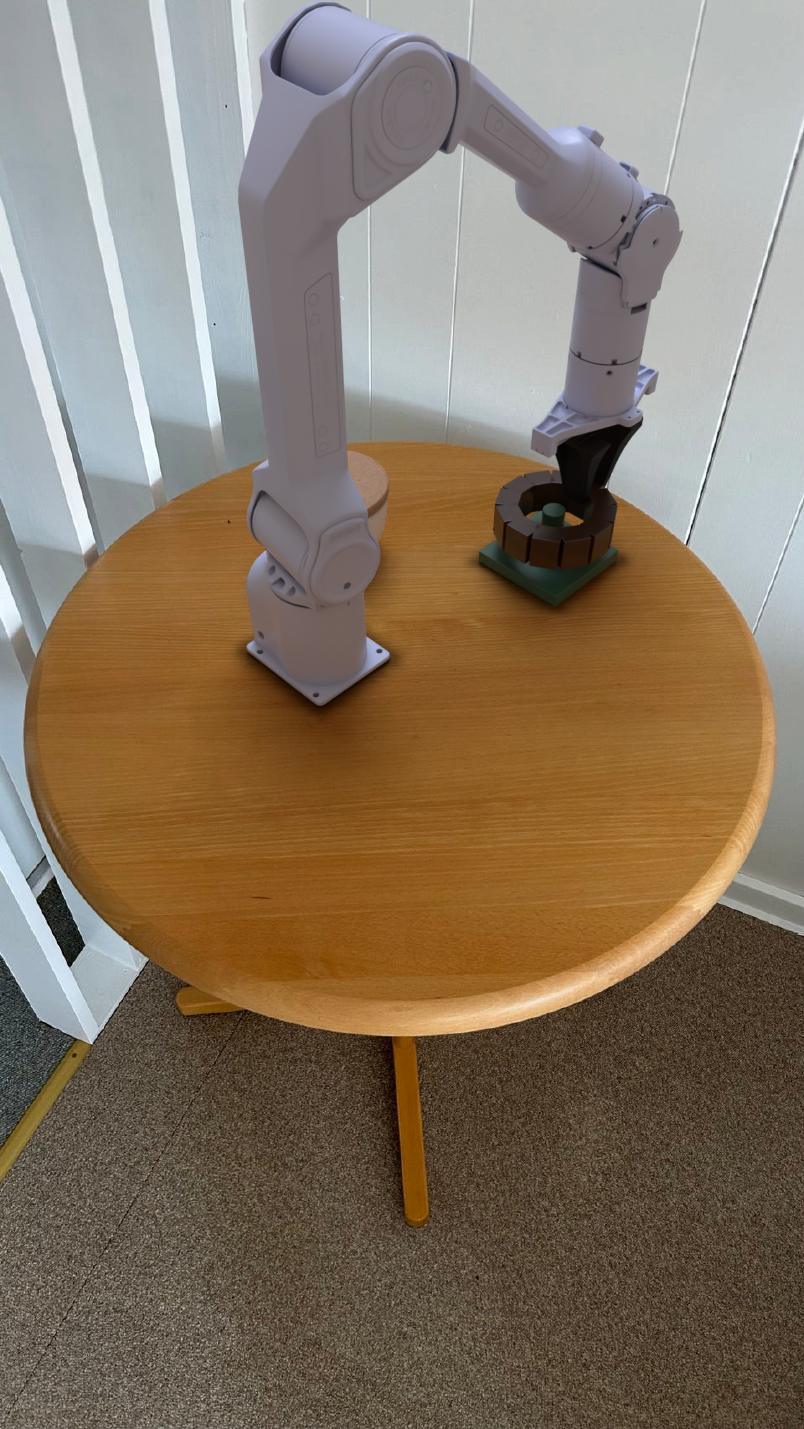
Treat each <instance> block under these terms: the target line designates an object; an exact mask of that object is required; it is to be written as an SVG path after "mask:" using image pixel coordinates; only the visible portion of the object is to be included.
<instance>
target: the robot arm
mask: <svg viewBox="0 0 804 1429" xmlns="http://www.w3.org/2000/svg"><path fill="white" fill-rule="evenodd" d="M258 61H259V74H260V84H261V85H260V86H261V93H262V94H261V100H260V103H259V107H258V111H257V114H256V118H255V122H254V125H253V129H252V133H251V137H250V140H249V144H248V148H247V152H246V156H245V159H244V163H243V166H242V170H241V174H240V177H239V183H238V187H237V191H238V192H237V193H238V194H237V196H238V197H237V202H238V212H239V220H240V221H239V222H240V229H241V239H242V247H243V256H244V266H245V272H246V280H247V282H246V283H247V291H248V299H249V307H250V316H251V324H252V332H253V333H252V334H253V342H254V349H255V351H254V352H255V358H256V368H257V375H258V376H257V377H258V385H259V394H260V401H261V411H262V419H263V428H264V436H265V445H266V454H267V459H265V460H264V461H263V462H261V463H260V464H259V465H257V466H256V467H255V468H254V469H253V470H252V471H251V474H252V475H251V476H252V482H253V483H252V485H253V486H252V487H253V488H252V495H251V498H250V500H249V503H248V507H247V511H246V527H247V529H248V532H249V534H250V535H251V537H252V538H253V540H255V541H256V542H257V543H258V544H260V546H262V547H264V548H265V550H264V551H263V552H262V553H261V554H259V556H258V557H256V559H255V561H254V562H253V563H252V565H251V566H250V569H249V572H248V575H247V578H246V582H245V592H246V598H247V604H248V609H249V615H250V622H251V628H252V633H253V640H252V641H250V642H249V643H248V644H247V645H246V650H247V653H249V654H250V655H252V656H253V657H254V658H256V660H258V661H260V663H262V664H263V665H265V666H266V667H267V668H269V669H270V670H271V671H272V672H273V673H275V674H276V675H277V676H279V677H280V678H281V679H283V680H284V682H286V683H288V684H289V685H290V686H292V687H293V688H294V689H295V690H297V692H299V693H301V695H303V696H304V697H305V698H306V699H308V700H309V701H311V702H312V703H313V704H315V705H316V706H319V707H321V706H324V705H326V704H327V703H329V702H331V701H332V700H333V699H334V698H336V697H337V696H339V695H340V694H342V693H343V692H344V691H346V690H348V689H349V688H350V687H351V686H353V685H354V684H356V683H358V682H359V681H361V680H362V679H363V678H364V677H367V675H369V674H370V673H372V672H373V671H374V670H376V669H377V668H379V667H381V666H382V665H383V664H385V663H386V662H387V661H389V659H390V658H391V655H390V652H389V651H388V650H387V649H385V648H384V647H383V646H381V645H379V644H378V643H377V642H375V641H374V640H372V639H371V638H369V637H368V636H367V624H366V605H365V603H366V602H365V591H366V590H367V587H368V586H369V585H370V584H371V583H372V581H373V579H374V577H375V576H376V573H377V572H378V569H379V566H380V562H381V546H380V544H379V543H378V542H377V540H376V538H375V537H374V536H373V534H372V533H371V531H370V528H369V524H368V511H367V508H366V506H365V504H364V501H363V499H362V497H361V495H360V493H359V491H358V489H357V487H356V485H355V483H354V481H353V479H352V477H351V475H350V472H349V470H348V458H347V450H348V440H347V439H348V438H347V419H346V417H347V416H346V396H345V378H344V376H345V375H344V355H343V354H344V353H343V352H344V351H343V333H342V332H343V331H342V311H341V291H340V290H341V289H340V268H339V248H338V247H339V246H338V234H339V232H340V230H341V228H342V227H343V226H344V225H345V224H346V223H347V222H348V220H349V219H351V218H355V217H356V216H357V215H359V214H360V213H362V212H363V211H364V210H366V209H367V208H368V207H370V206H371V205H373V204H374V203H375V202H377V201H378V200H379V199H381V198H382V197H383V196H384V195H386V194H387V193H389V192H390V191H392V190H393V189H394V188H395V187H397V186H398V185H399V184H401V183H402V182H404V181H405V180H407V179H408V178H409V177H411V176H412V175H413V174H414V173H416V172H417V171H419V170H420V169H422V167H423V166H425V165H426V164H427V163H428V162H429V161H431V159H432V158H433V157H434V156H435V155H436V154H437V153H438V151H439V152H441V153H442V154H445V155H451V154H452V153H453V154H454V152H455V151H456V149H457V147H458V146H461V147H463V148H464V149H466V150H468V151H469V152H471V153H472V154H474V155H475V156H477V157H478V158H480V159H481V160H483V161H485V162H487V164H490V165H491V166H493V167H494V168H496V169H497V170H498V171H500V172H502V173H504V174H505V175H506V176H508V177H510V178H511V179H512V180H514V181H515V182H514V194H515V199H516V202H517V205H518V206H519V209H520V210H521V211H522V212H523V213H524V214H525V215H526V216H528V217H529V218H530V219H532V220H534V221H535V222H536V223H538V224H539V225H541V226H542V227H544V228H545V229H547V230H548V231H549V232H551V233H553V234H554V235H556V237H559V238H560V239H561V240H562V241H564V242H566V245H567V248H568V250H569V251H570V252H571V254H573V253H578V254H579V255H580V256H581V257H580V259H579V267H578V274H577V275H578V276H577V282H576V290H575V300H574V308H573V315H572V321H571V322H572V323H571V331H570V340H569V347H568V355H567V363H566V372H565V379H564V380H565V381H564V389H563V391H562V392H561V393H560V395H558V397H557V399H556V401H555V402H554V403H553V405H552V407H551V408H550V409H549V411H548V412H547V414H546V415H545V417H544V418H543V419H542V420H541V421H540V422H539V423H538V424H536V425H535V426H534V427H532V429H531V430H532V431H531V440H530V450H531V451H534V452H536V453H538V454H540V455H541V456H544V457H546V458H548V459H550V458H552V457H553V456H555V458H556V462H557V465H558V469H559V471H560V475H561V481H562V487H563V493H564V496H565V497H567V498H569V499H571V500H573V501H574V502H576V503H578V504H583V503H584V502H586V500H587V498H588V496H589V494H590V490H591V487H592V483H593V480H594V481H596V482H598V483H600V484H602V485H604V488H606V486H607V484H608V483H609V481H610V479H611V476H612V473H613V472H614V470H615V467H616V465H617V463H618V462H619V459H620V457H621V455H622V454H623V452H624V450H625V449H626V447H627V445H628V444H629V442H630V441H631V439H632V438H633V437H634V435H636V433H637V432H638V431H639V430H640V429H641V427H642V426H643V422H644V416H643V415H644V412H643V410H642V409H641V408H638V406H639V404H640V402H641V400H642V398H643V397H644V395H646V396H650V395H651V394H653V393H655V392H656V389H657V384H658V378H659V373H660V371H659V370H658V369H655V368H652V367H650V366H648V365H645V364H644V363H641V360H642V356H643V350H644V345H645V339H646V333H647V328H648V322H649V318H650V311H651V307H652V306H651V305H652V300H654V299H655V298H656V297H657V296H658V292H659V291H661V289H662V283H663V279H664V275H665V273H666V270H667V268H668V266H669V265H670V263H671V262H672V260H673V258H675V255H676V253H677V251H678V249H679V247H680V244H681V241H682V238H683V233H684V230H683V229H680V218H679V215H678V212H677V211H676V206H675V203H674V202H673V200H672V199H671V198H670V197H669V196H667V195H666V194H663V193H660V192H658V191H656V190H654V189H651V188H649V187H646V186H644V185H642V184H641V183H640V181H639V180H638V177H639V173H640V172H639V169H637V168H636V166H634V165H633V164H631V163H629V162H627V161H624V160H621V161H619V162H617V161H616V160H615V159H614V158H612V156H610V155H609V154H608V153H607V152H606V151H604V150H603V149H602V148H601V146H602V144H603V143H604V141H605V136H604V135H603V134H602V133H600V131H598V130H597V129H595V128H593V127H590V126H589V125H586V124H583V123H580V124H578V126H577V127H574V126H572V125H559V126H555V127H552V128H549V129H547V130H545V129H544V128H543V127H542V126H541V125H540V124H539V123H537V121H535V120H534V119H533V118H532V117H531V116H530V115H529V114H528V113H527V112H525V111H524V110H523V109H522V108H521V107H520V106H519V105H518V104H517V103H515V102H514V101H513V99H512V98H511V97H509V96H508V95H507V94H506V93H505V92H503V90H501V89H500V88H499V87H498V86H497V85H496V84H495V83H494V82H493V81H492V80H490V79H489V77H487V76H486V75H485V74H484V73H483V72H482V71H481V70H480V69H479V68H477V67H476V66H475V64H473V63H471V62H470V61H469V60H468V59H466V58H464V57H462V56H460V55H458V54H456V53H454V52H451V51H449V50H446V49H443V48H442V46H441V45H440V44H439V43H437V41H436V40H435V39H433V38H431V37H430V36H427V35H424V34H422V33H419V32H406V31H404V30H401V29H398V28H396V27H392V26H390V25H387V24H384V23H382V22H380V21H378V20H377V21H376V20H374V19H371V18H369V17H366V16H364V15H362V14H358V13H356V12H353V11H352V10H351V9H350V8H348V7H346V6H344V5H342V4H340V3H338V2H336V1H332V0H315V1H311V2H308V3H306V4H305V5H303V6H301V7H300V8H298V9H297V10H296V11H294V13H293V14H292V15H291V16H290V17H289V18H288V19H287V21H286V22H285V23H284V24H283V26H282V27H281V28H280V29H279V31H278V32H277V33H276V34H275V36H274V37H273V39H272V40H271V41H270V42H269V44H268V45H267V46H266V48H265V49H264V51H263V52H262V53H261V54H260V56H259V58H258Z"/></svg>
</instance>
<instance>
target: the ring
mask: <svg viewBox="0 0 804 1429" xmlns="http://www.w3.org/2000/svg"><path fill="white" fill-rule="evenodd" d="M550 503H557V504H560V505H562V506H563V507H564V508H565V510H566V514H567V513H568V514H571V515H572V516H574V517H575V518H578V519H579V520H581V521H582V522H580V523H579V524H576V525H573V526H569V527H563V528H557V527H550V526H544V525H539V524H538V523H536V522H534V521H532V520H530V519H529V518H530V517H527V516H528V515H531V513H537V512H539V511H543V507H544V506H545V505H547V504H550ZM618 509H619V505H618V502H617V500H616V499H615V497H614V496H613V494H612V493H611V491H610V490H609V489H608V487H605V488H604V485H602V484H600V483H598V482H596V481H594V480H593V483H592V487H591V490H590V494H589V496H588V498H587V500H586V502H584V503H583V504H578V503H576V502H574V501H573V500H571V499H569V498H567V497H565V496H564V493H563V487H562V481H561V475H560V470H558V469H552V472H551V471H550V470H549V469H545V470H539V471H533V472H525V473H523V475H521V474H519V475H518V476H516V477H515V478H513V479H511V480H510V481H508V482H507V483H505V484H503V485H502V487H500V489H499V491H498V494H497V497H496V499H495V502H494V511H493V512H494V513H493V524H492V526H493V528H492V531H493V536H494V537H495V540H497V541H498V543H499V545H500V547H501V549H504V552H505V553H507V554H508V555H510V556H512V557H513V558H515V559H517V560H518V561H520V562H522V563H524V564H526V563H527V562H529V566H534V567H540V568H546V569H552V570H556V569H557V566H559V568H560V570H565V569H570V568H576V567H582V566H587V562H588V563H589V564H591V563H593V562H594V561H596V560H597V559H598V558H600V557H601V556H603V555H604V554H605V553H607V552H608V549H610V546H612V545H611V544H612V540H613V536H614V531H615V524H616V519H617V515H618V514H617V513H618Z"/></svg>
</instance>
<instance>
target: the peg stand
mask: <svg viewBox="0 0 804 1429" xmlns="http://www.w3.org/2000/svg"><path fill="white" fill-rule="evenodd" d="M566 514H567V512H566V510H565V508H564V507H563V506H562V505H560V504H557V503H550V504H547V505H545V506H544V507H543V511H538V512H535V513H534V514H533V515H531V516H530V517H528V518H529V519H530V520H532V521H534V522H536V523H538V524H539V525H544V526H550V527H557V528H563V527H569V526H574V525H573V524H571V523H570V522H567V521H566ZM619 552H620V550H619V549H618V548H616V547H613V546H612V545H610V549H608V552H607V553H605V554H604V555H603V556H601V557H600V558H598V559H597V560H596V561H594V562H593V563H591V564H589V563H588V562H587V566H582V567H576V568H570V569H565V570H560V568H559V566H557V569H556V570H552V569H546V568H540V567H534V566H529V562H527V563H526V564H524V563H522V562H520V561H518V560H517V559H515V558H513V557H512V556H510V555H508V554H507V553H505V552H504V549H501V547H500V545H499V543H498V541H497V539H495V540H494V541H492V542H491V543H489V544H488V545H486V546H485V547H483V548H482V549H480V550H478V562H479V563H481V564H482V565H484V566H486V567H487V568H489V569H490V570H492V571H494V572H496V573H498V574H499V575H501V576H503V577H504V578H506V579H507V580H509V581H511V582H513V583H514V584H516V585H517V586H519V587H521V588H522V589H524V590H525V591H528V592H529V593H531V594H533V595H534V596H536V597H538V598H539V599H541V600H543V601H544V602H546V603H548V604H550V605H551V606H552V607H555V608H556V606H557V607H558V605H559V604H561V603H562V602H563V601H565V600H566V599H568V598H569V597H570V596H572V595H573V594H574V593H575V592H577V591H579V589H581V588H582V587H583V586H585V585H586V584H587V583H590V581H591V580H593V579H594V578H596V577H597V576H599V575H600V574H601V573H602V572H603V571H605V570H606V569H607V568H609V567H610V566H611V565H613V564H614V563H616V562H617V561H618V556H619Z"/></svg>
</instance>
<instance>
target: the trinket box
mask: <svg viewBox="0 0 804 1429" xmlns="http://www.w3.org/2000/svg"><path fill="white" fill-rule="evenodd" d="M347 458H348V470H349V472H350V475H351V477H352V479H353V481H354V483H355V485H356V487H357V489H358V491H359V493H360V495H361V497H362V499H363V501H364V504H365V506H366V508H367V511H368V524H369V528H370V531H371V533H372V534H373V536H374V537H375V538H376V540H377V542H378V544H379V543H380V541H381V539H382V537H383V535H384V532H385V528H386V523H387V519H388V513H389V512H388V511H389V493H390V480H389V476H388V473H387V472H386V470H385V468H384V466H382V465H381V464H380V463H379V462H378V461H376V460H375V459H374V458H372V457H370V456H368V455H367V454H363V453H361V452H358V451H354V450H351V449H350V450H349V449H347Z"/></svg>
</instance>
